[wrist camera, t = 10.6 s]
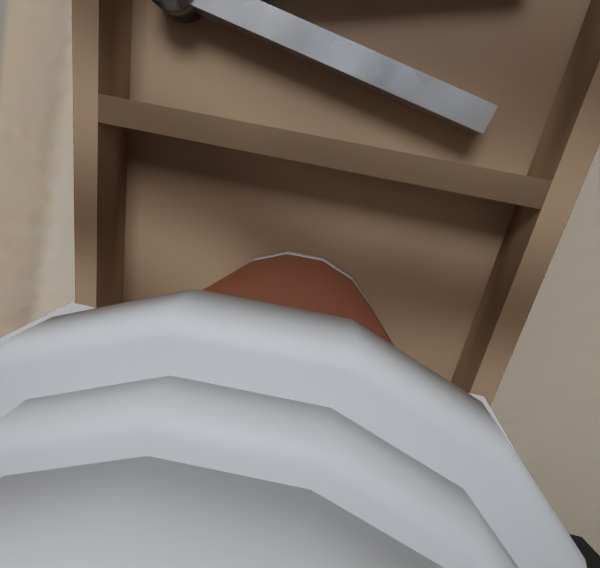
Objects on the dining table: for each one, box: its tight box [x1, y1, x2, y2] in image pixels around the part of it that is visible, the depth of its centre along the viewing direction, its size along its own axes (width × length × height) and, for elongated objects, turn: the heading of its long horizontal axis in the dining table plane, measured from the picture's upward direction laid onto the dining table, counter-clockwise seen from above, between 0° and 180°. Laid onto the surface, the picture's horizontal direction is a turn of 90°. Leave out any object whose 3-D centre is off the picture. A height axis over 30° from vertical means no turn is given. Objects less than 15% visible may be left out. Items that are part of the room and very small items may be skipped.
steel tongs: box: [152, 0, 498, 136], centre depth 11 cm, size 11×5×1 cm, turn 79°
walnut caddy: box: [72, 0, 600, 406], centre depth 13 cm, size 22×15×2 cm
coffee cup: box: [0, 251, 587, 568], centre depth 9 cm, size 9×9×12 cm
